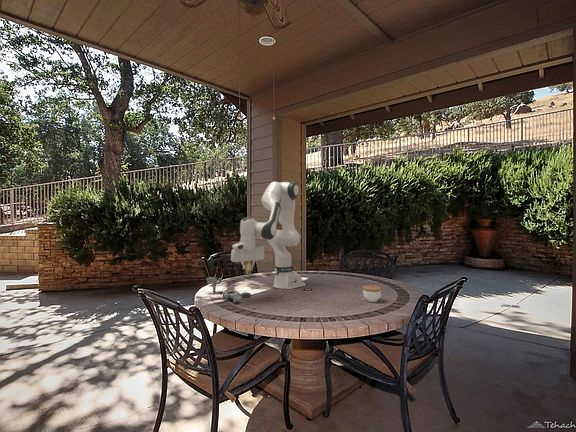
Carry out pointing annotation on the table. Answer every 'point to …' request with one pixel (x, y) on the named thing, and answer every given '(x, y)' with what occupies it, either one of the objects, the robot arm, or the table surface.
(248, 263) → the brass pin
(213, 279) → the mechanical component
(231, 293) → the chain ends
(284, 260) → the robot arm
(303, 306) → the table surface
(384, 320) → the table surface
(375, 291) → the lidded jar
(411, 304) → the table surface
